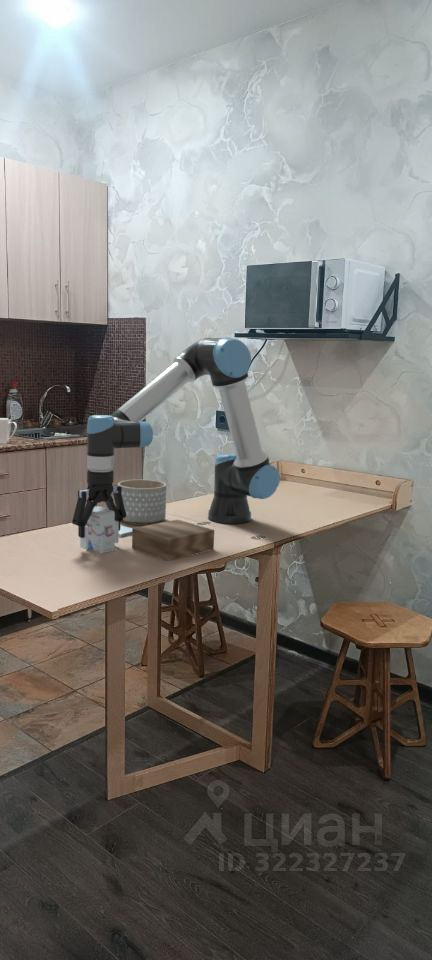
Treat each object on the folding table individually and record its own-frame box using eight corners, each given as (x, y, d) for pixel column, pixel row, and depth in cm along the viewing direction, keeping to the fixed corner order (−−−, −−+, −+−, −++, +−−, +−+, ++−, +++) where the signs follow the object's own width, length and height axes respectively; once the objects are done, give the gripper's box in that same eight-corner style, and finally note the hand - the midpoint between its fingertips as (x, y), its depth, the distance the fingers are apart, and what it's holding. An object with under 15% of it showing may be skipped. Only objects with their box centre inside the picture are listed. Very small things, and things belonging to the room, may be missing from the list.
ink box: (84, 547, 205) (84, 507, 203) (98, 544, 209) (98, 505, 207) (101, 553, 199) (101, 513, 197) (115, 550, 203) (115, 511, 201)
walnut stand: (177, 538, 219) (177, 519, 218) (213, 549, 208) (214, 530, 207) (132, 547, 206) (132, 528, 205) (168, 560, 195) (168, 539, 194)
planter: (112, 515, 245) (113, 480, 243) (157, 513, 251) (158, 478, 248) (123, 527, 230) (124, 489, 228) (171, 524, 236) (172, 487, 233)
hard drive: (139, 529, 223) (112, 522, 231) (121, 534, 217) (93, 526, 224) (139, 534, 224) (112, 527, 231) (121, 539, 217) (93, 531, 225)
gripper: (123, 464, 210) (122, 536, 214) (58, 471, 194) (59, 548, 198) (139, 468, 205) (138, 541, 209) (74, 475, 189) (74, 554, 193)
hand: (99, 545), depth 204 cm, fingers open, 10 cm apart
